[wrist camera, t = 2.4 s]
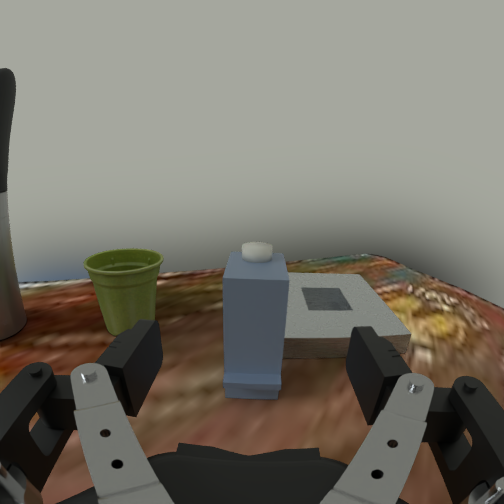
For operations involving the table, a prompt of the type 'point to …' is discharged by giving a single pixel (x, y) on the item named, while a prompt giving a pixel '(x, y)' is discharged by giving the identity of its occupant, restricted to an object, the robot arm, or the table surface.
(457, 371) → the table surface
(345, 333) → the plate
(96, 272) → the plant pot
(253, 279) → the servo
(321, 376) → the table surface
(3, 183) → the robot arm
